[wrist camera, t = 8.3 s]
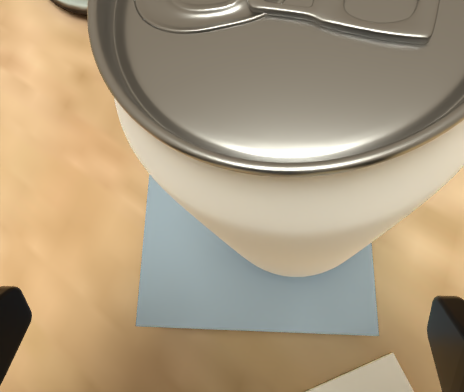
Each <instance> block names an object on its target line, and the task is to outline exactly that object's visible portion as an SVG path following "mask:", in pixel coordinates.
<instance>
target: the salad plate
mask: <svg viewBox="0 0 464 392" xmlns="http://www.w3.org/2000/svg"><path fill="white" fill-rule="evenodd" d="M51 1H52V2H54V3H55V4H56V5H58V6H60V7H62V8H64V9H66V10H68V11H70V12H73V13H76V14H83V15H87V6H88V0H51Z"/></svg>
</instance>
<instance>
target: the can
mask: <svg viewBox="0 0 464 392" xmlns="http://www.w3.org/2000/svg"><path fill="white" fill-rule="evenodd" d="M87 22H88V33H89V39H90V44H91V48H92V52H93V56H94V59H95V61H96V64H97V67H98V69H99V72H100V74H101V76H102V78H103V80H104V82H105V84H106V85H107V87H108V89H109V90H110V92H111V93H112V95H113V96H114V99H115V104H116V109H117V113H118V116H119V120H120V123H121V126H122V129H123V131H124V133H125V136H126V138H127V140H128V142H129V144H130V146H131V148H132V150H133V151H134V153H135V154H136V156H137V158H138V159H139V160H140V162H141V163H142V165H143V166H144V167H145V169H146V170H147V171H148V173H149V174H150V175H151V176H152V178H153V179H154V180H155V181H156V182H157V183H158V184H159V185H160V186H161V187H162V188H163V189H164V190H165V191H166V192H167V193H168V194H169V195H170V196H171V197H172V198H173V199H174V200H175V201H176V202H178V203H179V204H180V205H181V206H182V207H183V208H184V209H186V210H187V211H188V212H189V213H190V214H191V215H192V216H194V217H195V218H196V219H197V220H198V221H200V222H201V223H202V224H203V225H204V226H206V227H207V228H208V229H209V230H210V231H212V232H213V233H214V234H215V235H217V236H218V237H219V238H220V239H221V240H223V241H224V242H225V243H226V244H228V245H229V246H230V247H231V248H232V249H234V250H235V251H236V252H237V253H239V254H240V255H241V256H243V257H244V258H245V259H247V260H248V261H249V262H251V263H252V264H254V265H255V266H257V267H259V268H261V269H263V270H265V271H268V272H270V273H273V274H277V275H281V276H288V277H306V276H313V275H317V274H320V273H323V272H326V271H329V270H331V269H333V268H335V267H337V266H338V265H340V264H342V263H343V262H345V261H346V260H348V259H349V258H351V257H352V256H353V255H355V254H356V253H358V252H359V251H360V250H362V249H363V248H365V247H366V246H367V245H369V244H370V243H371V242H373V241H374V240H375V239H377V238H378V237H380V236H381V235H382V234H384V233H385V232H386V231H388V230H389V229H390V228H392V227H393V226H394V225H396V224H397V223H398V222H400V221H401V220H402V219H404V218H405V217H406V216H407V215H409V214H410V213H411V212H413V211H414V210H415V209H416V208H418V207H419V206H420V205H422V204H423V203H424V202H425V201H427V200H428V199H429V198H430V197H431V196H433V195H434V194H435V193H436V192H437V191H438V190H439V189H441V188H442V187H443V186H444V185H445V184H446V183H447V182H448V181H449V180H450V179H451V178H453V177H454V176H455V174H456V173H457V172H458V171H459V170H460V169H461V168H462V167H463V166H464V0H88V6H87Z"/></svg>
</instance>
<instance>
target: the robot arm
mask: <svg viewBox="0 0 464 392" xmlns="http://www.w3.org/2000/svg"><path fill="white" fill-rule="evenodd" d="M31 318H32V313H31V310H30V308H29V306H28V304H27V302H26V300H25V297H24V295H23V293H22V291H21V290H20V289H19V288H18V287H14V286H1V287H0V385H1V383H2V381H3V379H4V377H5V375H6V373H7V371H8V369H9V367H10V365H11V362H12V360H13V358H14V356H15V354H16V352H17V350H18V348H19V346H20V344H21V341H22V339H23V337H24V335H25V333H26V331H27V329H28V327H29V325H30V322H31ZM427 334H428V339H429V343H430V347H431V351H432V354H433V358H434V362H435V366H436V369H437V373H438V377H439V381H440V384H441V388H442V392H464V300H463V299H462V298H460V297H457V296H437V297H435V298H434V300H433V302H432V307H431V312H430V316H429V321H428V326H427Z"/></svg>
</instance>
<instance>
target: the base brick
mask: <svg viewBox="0 0 464 392" xmlns="http://www.w3.org/2000/svg"><path fill="white" fill-rule="evenodd" d="M136 326H142V327H167V328H192V329H216V330H241V331H266V332H291V333H316V334H341V335H365V336H379V330H378V317H377V305H376V293H375V280H374V268H373V256H372V243H370V244H369V245H367V246H366V247H365V248H363V249H362V250H360V251H359V252H358V253H356V254H355V255H353V256H352V257H351V258H349V259H348V260H346V261H345V262H343V263H342V264H340V265H338V266H337V267H335V268H333V269H331V270H329V271H326V272H323V273H320V274H317V275H313V276H306V277H288V276H281V275H277V274H273V273H270V272H268V271H265V270H263V269H261V268H259V267H257V266H255V265H254V264H252V263H251V262H249V261H248V260H247V259H245V258H244V257H243V256H241V255H240V254H239V253H237V252H236V251H235V250H234V249H232V248H231V247H230V246H229V245H228V244H226V243H225V242H224V241H223V240H221V239H220V238H219V237H218V236H217V235H215V234H214V233H213V232H212V231H210V230H209V229H208V228H207V227H206V226H204V225H203V224H202V223H201V222H200V221H198V220H197V219H196V218H195V217H194V216H192V215H191V214H190V213H189V212H188V211H187V210H186V209H184V208H183V207H182V206H181V205H180V204H179V203H178V202H176V201H175V200H174V199H173V198H172V197H171V196H170V195H169V194H168V193H167V192H166V191H165V190H164V189H163V188H162V187H161V186H160V185H159V184H158V183H157V182H156V181H155V180H154V179H153V178H152V176H151V175H150V174H149V185H148V196H147V207H146V218H145V229H144V240H143V251H142V262H141V273H140V284H139V295H138V306H137V317H136Z"/></svg>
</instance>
